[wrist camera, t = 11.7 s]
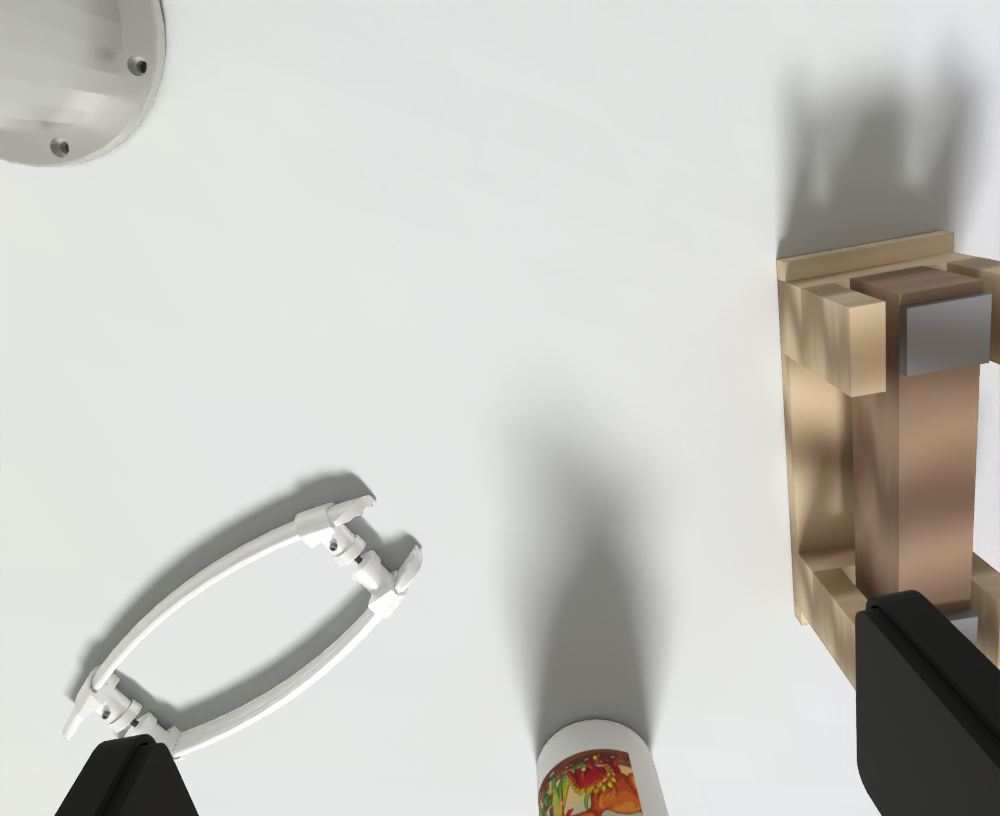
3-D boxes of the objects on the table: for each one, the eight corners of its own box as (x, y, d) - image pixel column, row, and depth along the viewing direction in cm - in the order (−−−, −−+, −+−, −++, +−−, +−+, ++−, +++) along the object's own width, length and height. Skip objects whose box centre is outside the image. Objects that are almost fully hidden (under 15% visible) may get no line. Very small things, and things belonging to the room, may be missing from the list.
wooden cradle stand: (776, 259, 38) (848, 284, 30) (941, 230, 37) (1057, 247, 30) (794, 615, 45) (857, 708, 37) (934, 593, 44) (1026, 683, 37)
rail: (849, 278, 35) (907, 297, 30) (922, 265, 35) (992, 282, 30) (856, 624, 41) (905, 685, 36) (918, 615, 41) (975, 675, 36)
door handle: (46, 681, 46) (341, 458, 41) (160, 776, 49) (449, 576, 44) (20, 712, 43) (331, 478, 39) (142, 810, 46) (447, 602, 41)
